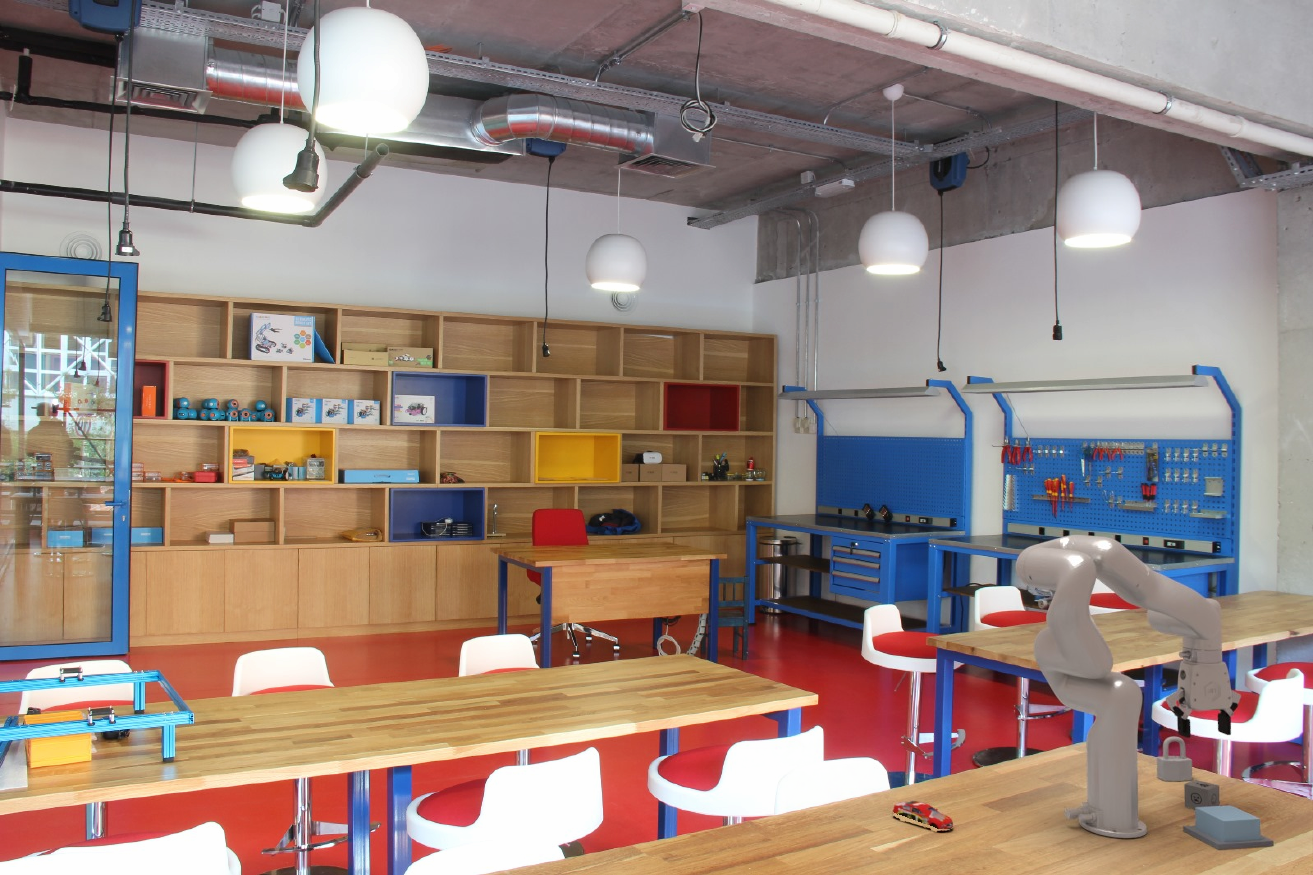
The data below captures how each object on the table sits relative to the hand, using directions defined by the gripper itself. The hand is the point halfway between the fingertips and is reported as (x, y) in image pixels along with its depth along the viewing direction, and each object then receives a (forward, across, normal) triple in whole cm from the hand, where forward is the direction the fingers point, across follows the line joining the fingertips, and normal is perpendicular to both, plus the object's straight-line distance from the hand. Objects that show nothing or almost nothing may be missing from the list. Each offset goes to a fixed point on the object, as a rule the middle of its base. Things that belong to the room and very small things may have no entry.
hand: (1204, 734), depth 219 cm
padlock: (+16, +6, +19) cm, 26 cm away
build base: (+15, -9, -17) cm, 25 cm away
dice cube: (+16, -1, 0) cm, 16 cm away
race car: (+15, -65, +1) cm, 66 cm away
